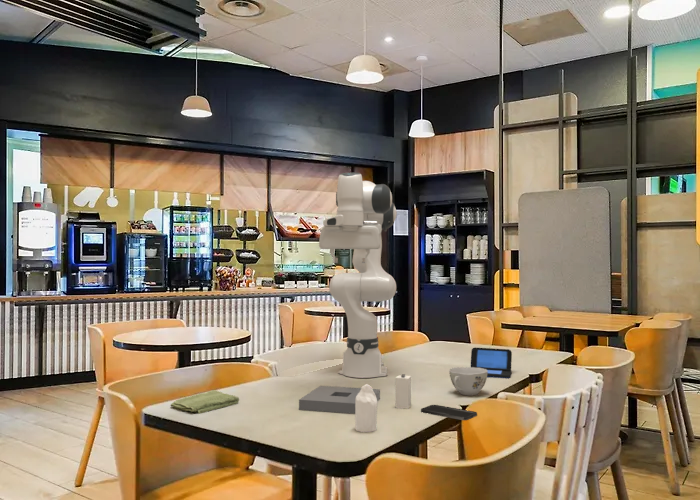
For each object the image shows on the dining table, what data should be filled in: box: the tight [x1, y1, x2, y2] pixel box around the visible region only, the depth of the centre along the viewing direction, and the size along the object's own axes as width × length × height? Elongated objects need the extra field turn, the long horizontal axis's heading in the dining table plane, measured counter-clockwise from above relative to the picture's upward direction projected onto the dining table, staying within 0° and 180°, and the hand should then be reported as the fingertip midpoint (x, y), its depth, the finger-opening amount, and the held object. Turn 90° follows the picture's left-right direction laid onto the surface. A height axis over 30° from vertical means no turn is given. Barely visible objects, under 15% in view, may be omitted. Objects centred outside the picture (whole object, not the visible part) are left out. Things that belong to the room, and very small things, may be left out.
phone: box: [420, 404, 478, 421], centre depth 175 cm, size 8×1×15 cm
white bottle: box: [354, 383, 378, 433], centre depth 159 cm, size 6×12×6 cm
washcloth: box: [170, 389, 240, 415], centre depth 183 cm, size 13×18×3 cm
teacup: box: [448, 366, 488, 396], centre depth 199 cm, size 15×12×8 cm
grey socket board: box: [298, 385, 381, 415], centre depth 185 cm, size 20×20×3 cm
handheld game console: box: [470, 347, 513, 379], centre depth 233 cm, size 16×13×9 cm
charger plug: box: [394, 373, 412, 410], centre depth 182 cm, size 4×4×10 cm
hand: (349, 263), depth 198 cm, fingers open, 8 cm apart
